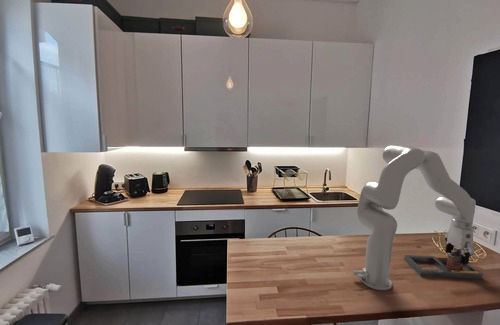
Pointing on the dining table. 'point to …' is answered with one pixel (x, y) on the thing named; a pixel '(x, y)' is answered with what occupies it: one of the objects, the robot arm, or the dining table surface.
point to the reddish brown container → (454, 260)
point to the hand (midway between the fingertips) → (456, 258)
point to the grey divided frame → (441, 267)
